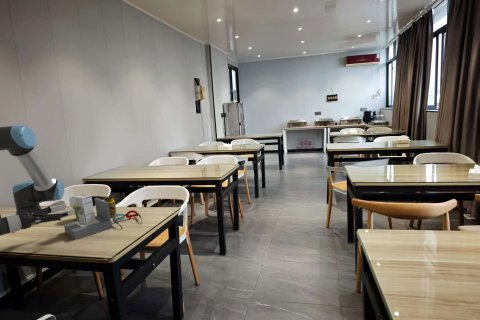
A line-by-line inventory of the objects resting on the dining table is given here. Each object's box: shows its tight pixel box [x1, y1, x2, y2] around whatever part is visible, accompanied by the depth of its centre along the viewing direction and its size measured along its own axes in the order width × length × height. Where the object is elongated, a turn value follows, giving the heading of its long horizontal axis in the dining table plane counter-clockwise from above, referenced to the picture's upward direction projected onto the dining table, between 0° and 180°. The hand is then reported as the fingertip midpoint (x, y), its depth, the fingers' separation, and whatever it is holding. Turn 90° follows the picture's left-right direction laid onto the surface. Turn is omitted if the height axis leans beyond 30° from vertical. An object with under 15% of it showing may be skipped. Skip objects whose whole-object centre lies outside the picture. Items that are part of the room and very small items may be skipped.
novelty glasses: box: [112, 209, 143, 230], centre depth 168 cm, size 14×15×5 cm
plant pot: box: [71, 203, 79, 221], centre depth 181 cm, size 9×9×9 cm
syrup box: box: [74, 193, 96, 224], centre depth 160 cm, size 6×6×14 cm
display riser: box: [63, 197, 113, 240], centre depth 161 cm, size 16×18×14 cm
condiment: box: [103, 195, 119, 219], centre depth 180 cm, size 7×8×12 cm
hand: (70, 209), depth 155 cm, fingers open, 13 cm apart
